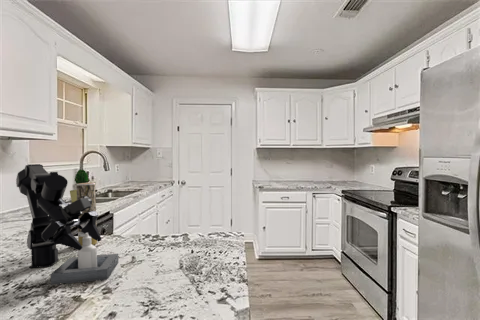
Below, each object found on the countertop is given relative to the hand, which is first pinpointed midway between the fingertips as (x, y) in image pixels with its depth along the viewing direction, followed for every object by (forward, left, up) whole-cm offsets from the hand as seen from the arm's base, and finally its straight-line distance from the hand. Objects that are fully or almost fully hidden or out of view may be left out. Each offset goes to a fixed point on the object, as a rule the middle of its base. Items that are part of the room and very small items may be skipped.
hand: (91, 244), depth 91 cm
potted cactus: (-44, +135, -9) cm, 143 cm away
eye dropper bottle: (-1, 0, -9) cm, 9 cm away
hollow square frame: (-1, 0, -9) cm, 9 cm away
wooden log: (-11, +35, -9) cm, 38 cm away
